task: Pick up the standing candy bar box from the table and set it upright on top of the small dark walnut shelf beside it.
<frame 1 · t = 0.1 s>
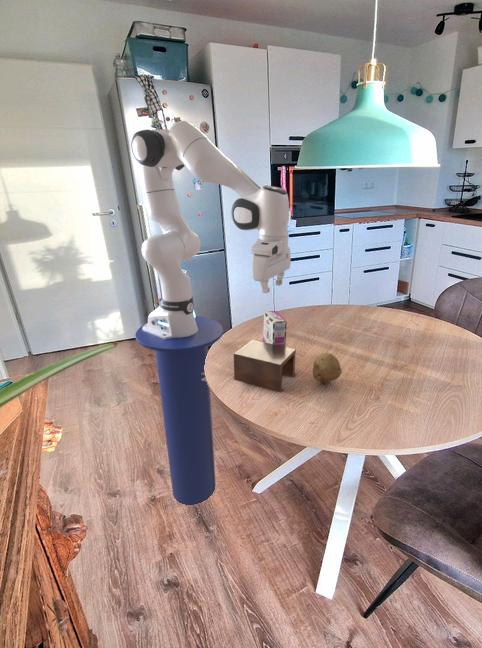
hand: (272, 288, 122), 28 cm above the table, tool pointing down, fingers open, 8 cm apart
candy bar box: (273, 359, 139), on the table
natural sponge: (325, 382, 125), on the table
walnut shelf: (264, 377, 127), on the table
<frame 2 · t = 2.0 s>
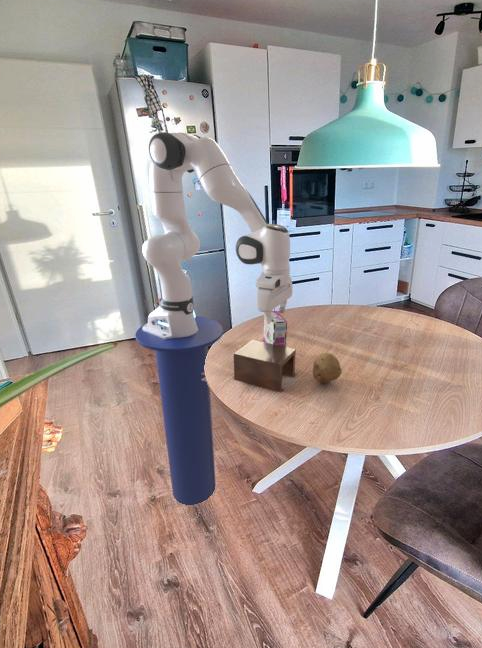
hand: (276, 316, 131), 16 cm above the table, tool pointing down, fingers open, 8 cm apart
candy bar box: (273, 359, 138), on the table, touching gripper
everything else where it was.
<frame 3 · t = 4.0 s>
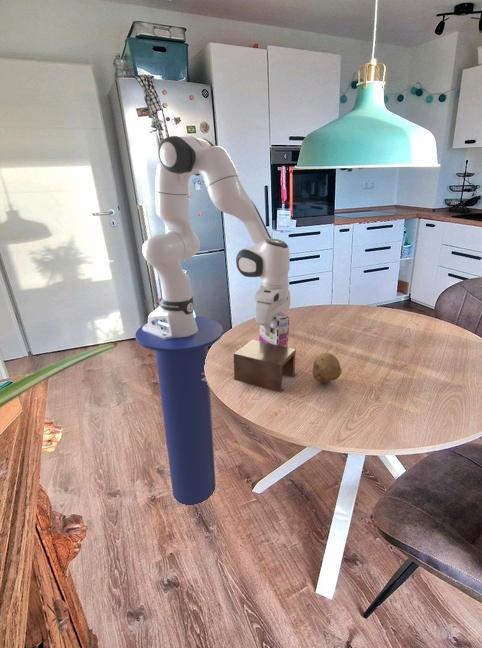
hand: (273, 328, 134), 12 cm above the table, tool pointing down, fingers closed on candy bar box, 6 cm apart
candy bar box: (272, 356, 138), point 1 cm above the table, touching gripper
everything else where it was.
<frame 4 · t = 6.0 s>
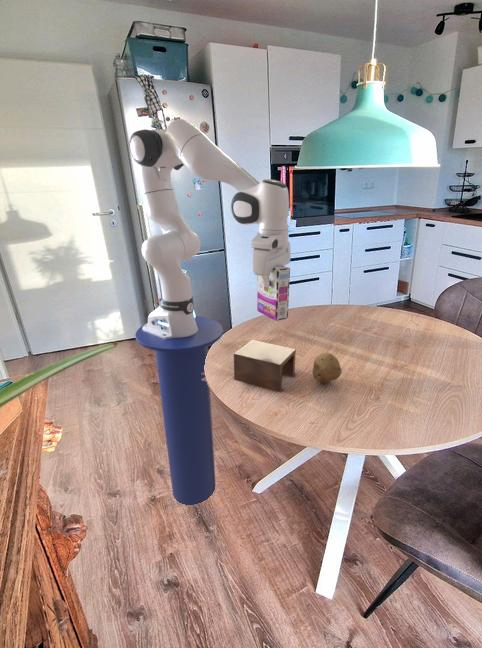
hand: (272, 283, 122), 29 cm above the table, tool pointing down, fingers closed on candy bar box, 6 cm apart
candy bar box: (272, 315, 126), point 19 cm above the table, touching gripper
everything else where it was.
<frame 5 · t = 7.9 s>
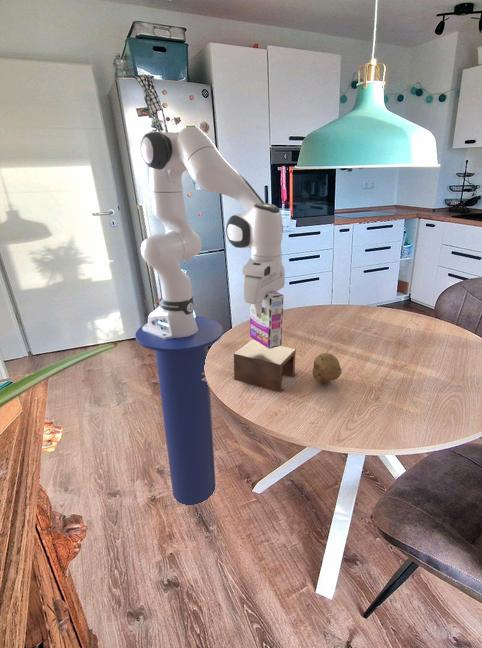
hand: (265, 309, 117), 23 cm above the table, tool pointing down, fingers closed on candy bar box, 6 cm apart
candy bar box: (265, 341, 121), point 13 cm above the table, touching gripper
everything else where it was.
when the fingers open (20 cm above the table, at t = 9.4 s): candy bar box stays where it is, resting on walnut shelf.
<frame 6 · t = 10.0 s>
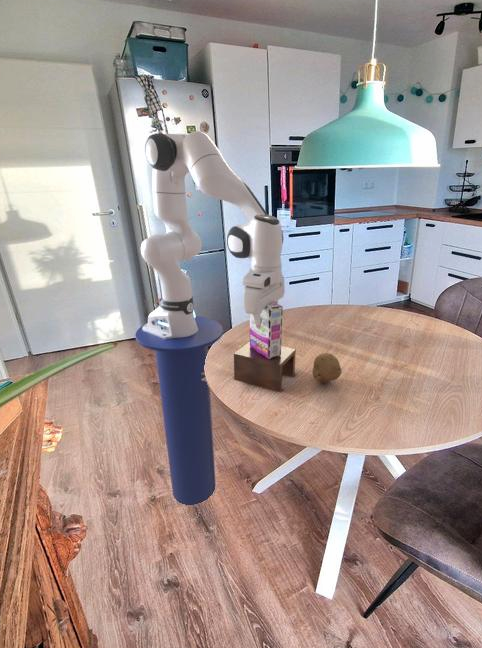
hand: (265, 318, 118), 20 cm above the table, tool pointing down, fingers open, 8 cm apart
candy bar box: (265, 351, 123), point 9 cm above the table, touching walnut shelf
everything else where it was.
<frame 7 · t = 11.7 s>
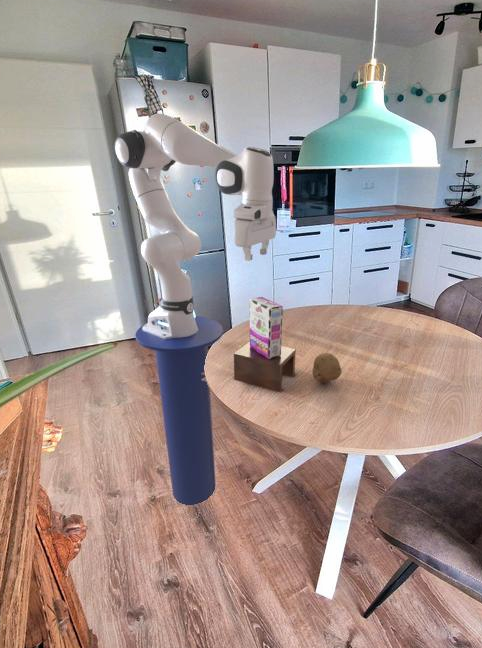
hand: (256, 257, 119), 37 cm above the table, tool pointing down, fingers open, 8 cm apart
nothing on the table moved.
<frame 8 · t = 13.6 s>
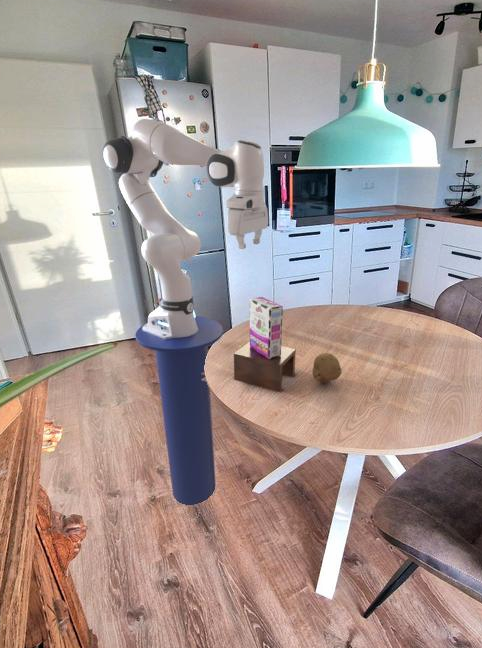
hand: (249, 246, 124), 39 cm above the table, tool pointing down, fingers open, 8 cm apart
nothing on the table moved.
at the end: candy bar box inside the target area (0.0 cm from its centre), point 9.2 cm above the table; candy bar box tilted 0°; the gripper is holding nothing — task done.
